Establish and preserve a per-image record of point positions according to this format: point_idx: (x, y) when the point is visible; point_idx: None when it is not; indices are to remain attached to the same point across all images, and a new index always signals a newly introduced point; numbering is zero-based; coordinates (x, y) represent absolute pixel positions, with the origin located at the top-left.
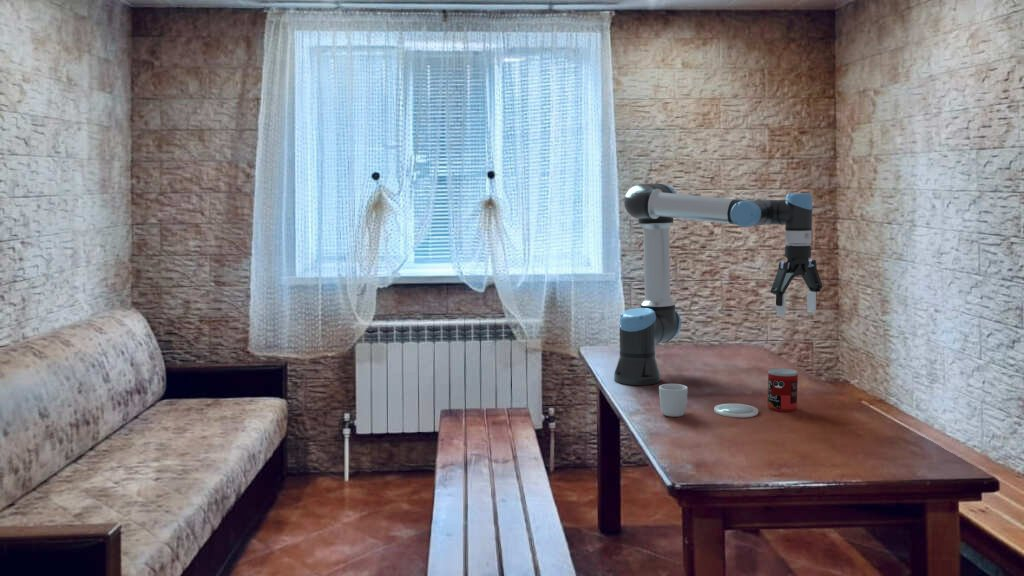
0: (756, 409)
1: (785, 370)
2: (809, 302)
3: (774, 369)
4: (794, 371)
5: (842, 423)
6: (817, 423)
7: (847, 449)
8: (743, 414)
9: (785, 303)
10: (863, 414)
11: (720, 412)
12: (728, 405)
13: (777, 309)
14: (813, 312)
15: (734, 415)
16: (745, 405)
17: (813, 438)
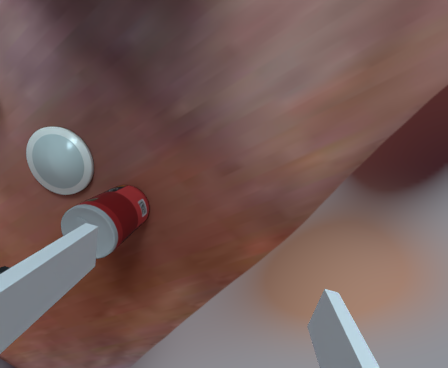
0: (81, 186)
1: (106, 229)
2: (344, 360)
3: (91, 211)
4: (107, 249)
5: (128, 289)
6: (104, 267)
7: (47, 319)
8: (44, 185)
9: (25, 328)
10: (187, 295)
11: (26, 153)
12: (62, 142)
13: (53, 248)
14: (310, 325)
15: (35, 175)
16: (86, 162)
17: None
